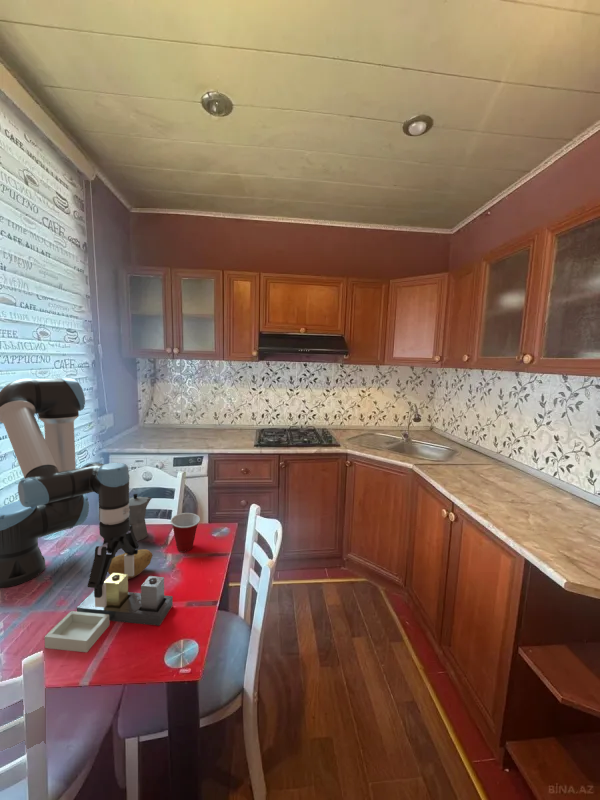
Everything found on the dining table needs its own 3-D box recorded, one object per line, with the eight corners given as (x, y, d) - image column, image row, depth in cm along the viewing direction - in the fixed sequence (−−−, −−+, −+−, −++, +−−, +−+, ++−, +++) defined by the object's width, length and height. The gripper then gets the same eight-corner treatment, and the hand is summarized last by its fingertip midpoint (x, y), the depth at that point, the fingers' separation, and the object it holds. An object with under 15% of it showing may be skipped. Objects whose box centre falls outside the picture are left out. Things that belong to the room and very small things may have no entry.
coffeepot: (146, 527, 150) (146, 486, 148) (156, 534, 143) (156, 493, 141) (108, 539, 138) (107, 496, 136) (117, 548, 132) (116, 503, 130)
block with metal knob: (103, 615, 98) (103, 581, 97) (113, 604, 102) (113, 571, 101) (119, 616, 98) (118, 582, 96) (128, 605, 102) (127, 572, 101)
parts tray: (45, 648, 86) (44, 636, 86) (71, 621, 95) (71, 611, 95) (86, 652, 85) (86, 640, 85) (109, 625, 94) (109, 614, 94)
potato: (157, 574, 117) (157, 552, 116) (111, 591, 108) (111, 567, 107) (147, 561, 124) (147, 540, 124) (103, 576, 115) (103, 554, 114)
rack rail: (76, 617, 97) (76, 607, 96) (95, 598, 105) (95, 589, 104) (159, 625, 95) (159, 615, 95) (172, 605, 103) (172, 596, 103)
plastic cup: (178, 559, 127) (178, 528, 125) (165, 547, 134) (165, 517, 133) (205, 548, 134) (205, 519, 133) (191, 538, 142) (191, 510, 141)
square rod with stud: (141, 619, 97) (140, 584, 96) (149, 607, 102) (149, 574, 100) (156, 620, 97) (156, 585, 96) (164, 609, 101) (164, 575, 100)
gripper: (98, 542, 84) (100, 623, 87) (149, 502, 109) (150, 565, 111) (69, 540, 85) (72, 620, 87) (127, 500, 110) (128, 563, 112)
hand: (116, 589), depth 99 cm, fingers open, 13 cm apart
